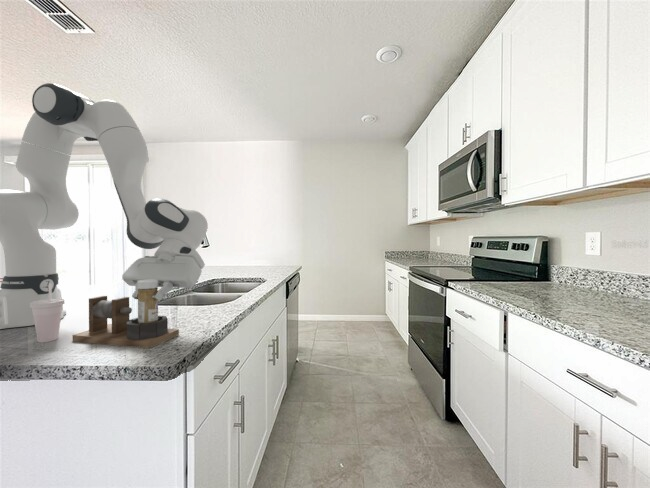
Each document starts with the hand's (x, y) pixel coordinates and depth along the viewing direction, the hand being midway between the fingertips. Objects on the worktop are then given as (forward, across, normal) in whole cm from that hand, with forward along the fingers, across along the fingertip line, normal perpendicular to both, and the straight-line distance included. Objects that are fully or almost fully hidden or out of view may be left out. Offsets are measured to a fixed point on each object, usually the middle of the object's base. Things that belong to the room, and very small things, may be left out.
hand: (145, 298), depth 75 cm
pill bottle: (+6, 0, +7) cm, 9 cm away
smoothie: (+11, -24, +4) cm, 27 cm away
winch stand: (+7, -6, +8) cm, 12 cm away
